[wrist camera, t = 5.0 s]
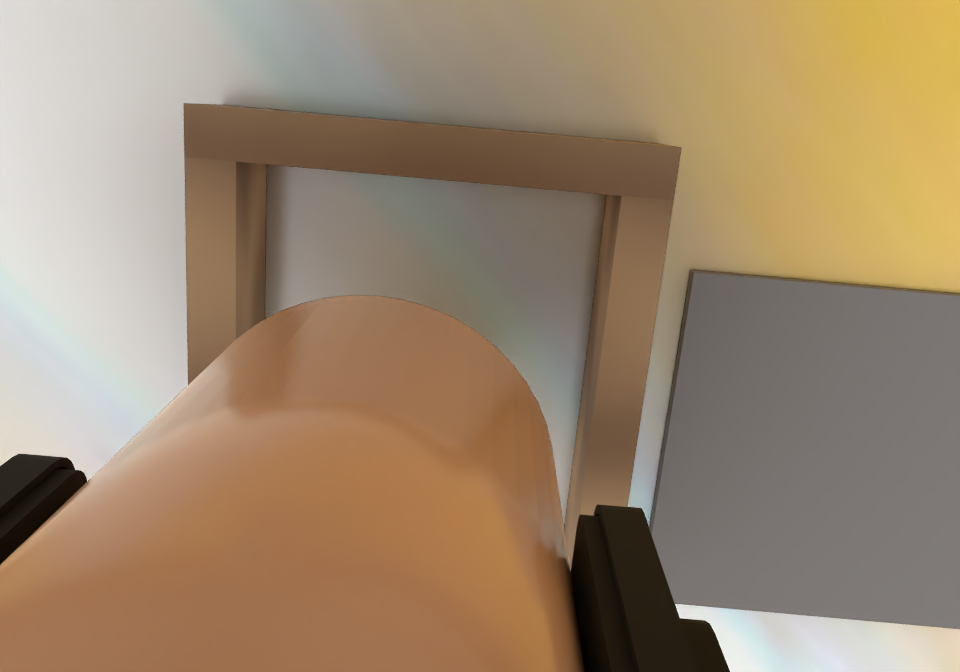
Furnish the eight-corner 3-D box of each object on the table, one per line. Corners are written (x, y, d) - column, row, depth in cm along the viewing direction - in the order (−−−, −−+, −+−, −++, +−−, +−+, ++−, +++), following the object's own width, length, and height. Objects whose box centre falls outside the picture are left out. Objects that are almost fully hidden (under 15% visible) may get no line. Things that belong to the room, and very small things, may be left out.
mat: (690, 269, 21) (694, 272, 21) (1060, 302, 21) (1070, 306, 21) (638, 592, 24) (641, 600, 24) (966, 622, 24) (974, 630, 24)
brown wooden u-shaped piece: (221, 104, 20) (183, 103, 18) (660, 143, 20) (681, 147, 18) (222, 532, 24) (191, 579, 21) (599, 565, 24) (610, 616, 21)
